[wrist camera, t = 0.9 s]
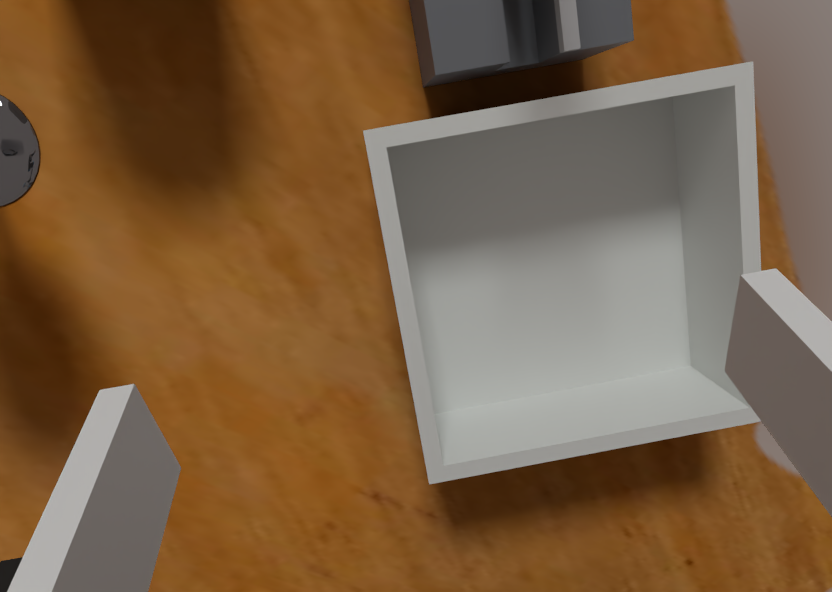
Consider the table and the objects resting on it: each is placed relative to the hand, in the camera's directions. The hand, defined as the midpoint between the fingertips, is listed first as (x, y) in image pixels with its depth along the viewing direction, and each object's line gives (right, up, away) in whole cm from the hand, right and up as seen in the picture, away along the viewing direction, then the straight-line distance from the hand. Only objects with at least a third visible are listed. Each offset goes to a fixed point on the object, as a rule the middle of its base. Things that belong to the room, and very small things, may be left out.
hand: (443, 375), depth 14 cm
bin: (+8, +4, +28) cm, 29 cm away
